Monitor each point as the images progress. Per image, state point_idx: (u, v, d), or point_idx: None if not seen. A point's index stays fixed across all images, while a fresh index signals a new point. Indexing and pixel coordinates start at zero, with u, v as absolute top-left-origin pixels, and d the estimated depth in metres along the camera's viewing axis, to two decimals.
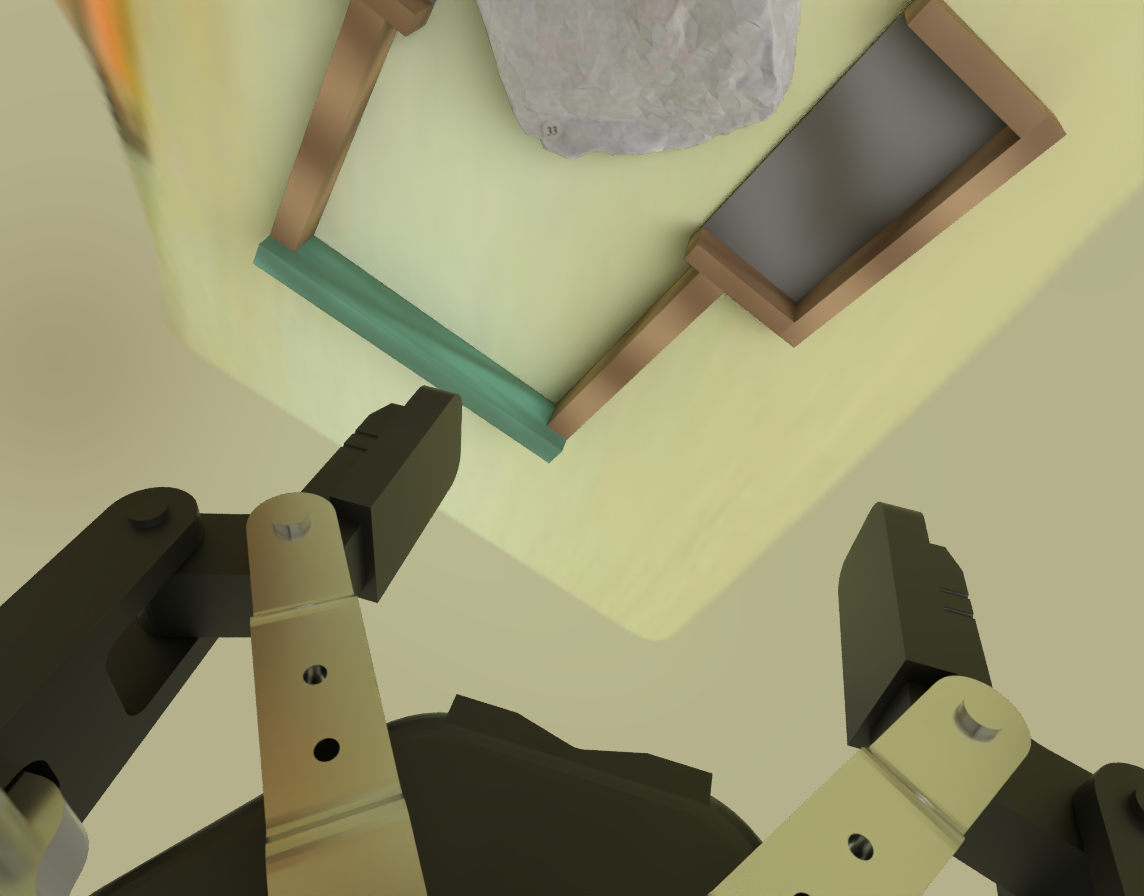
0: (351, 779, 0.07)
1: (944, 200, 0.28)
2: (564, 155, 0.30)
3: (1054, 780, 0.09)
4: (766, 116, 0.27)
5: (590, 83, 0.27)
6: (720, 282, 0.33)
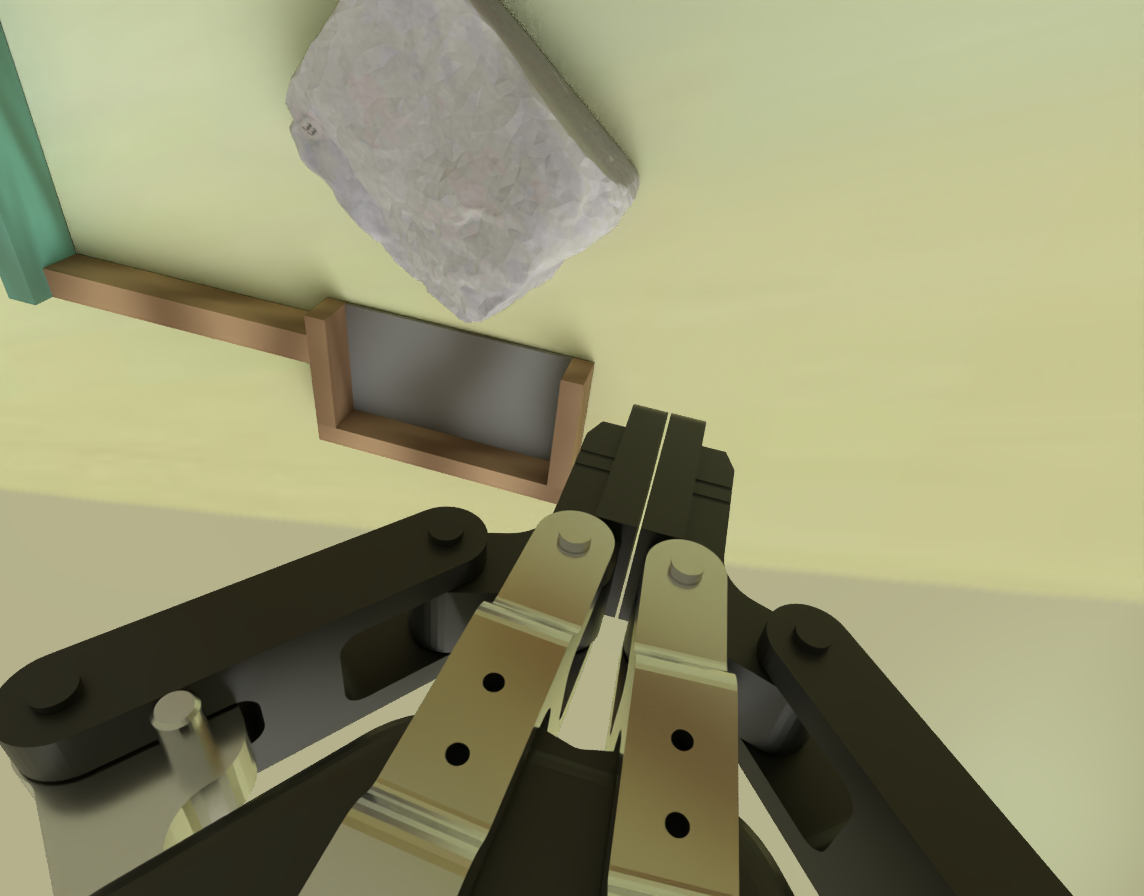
0: (455, 795, 0.07)
1: (485, 468, 0.34)
2: (300, 154, 0.27)
3: (750, 623, 0.10)
4: (461, 318, 0.29)
5: (373, 153, 0.25)
6: (313, 356, 0.33)
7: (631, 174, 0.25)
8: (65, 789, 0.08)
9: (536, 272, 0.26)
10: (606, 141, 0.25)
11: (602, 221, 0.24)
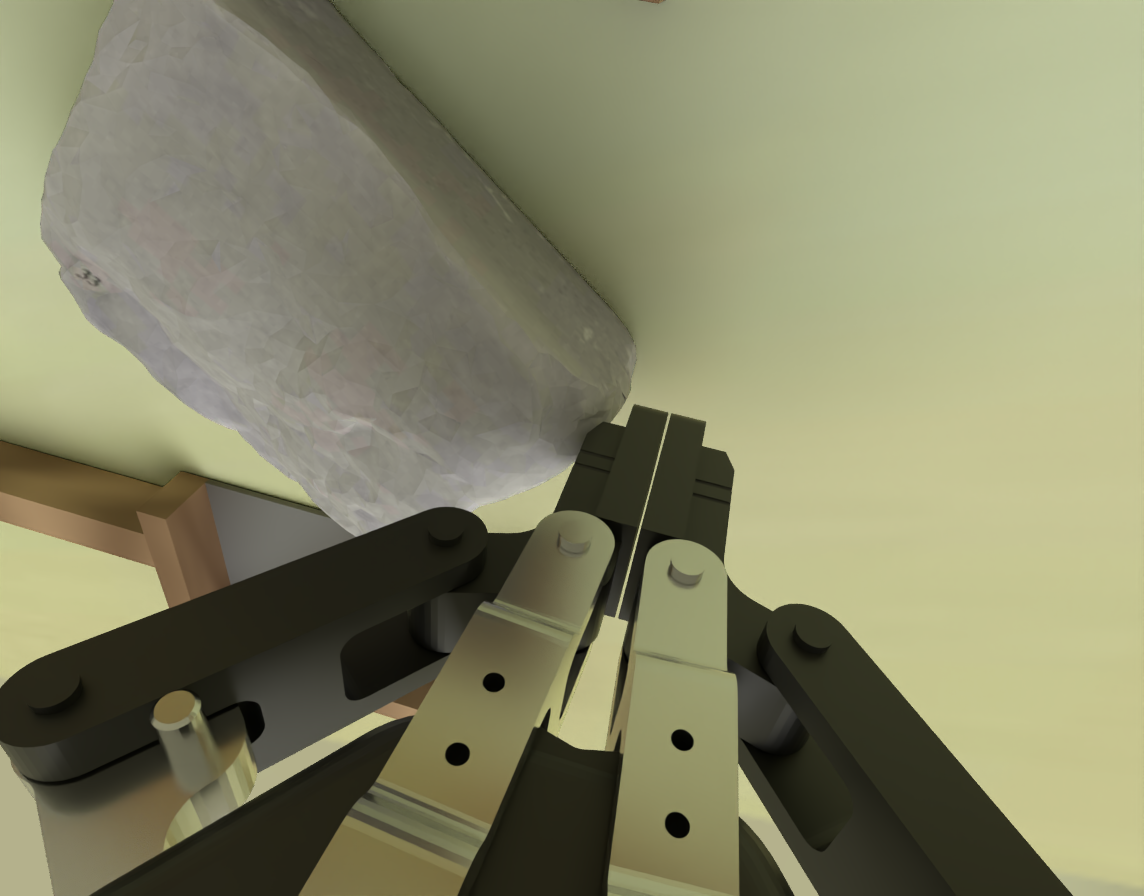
0: (455, 796, 0.07)
1: (414, 707, 0.24)
2: (84, 313, 0.16)
3: (750, 623, 0.10)
4: None
5: (188, 323, 0.15)
6: (158, 559, 0.22)
7: (623, 348, 0.15)
8: (65, 789, 0.08)
9: None
10: (580, 298, 0.15)
11: (575, 445, 0.14)
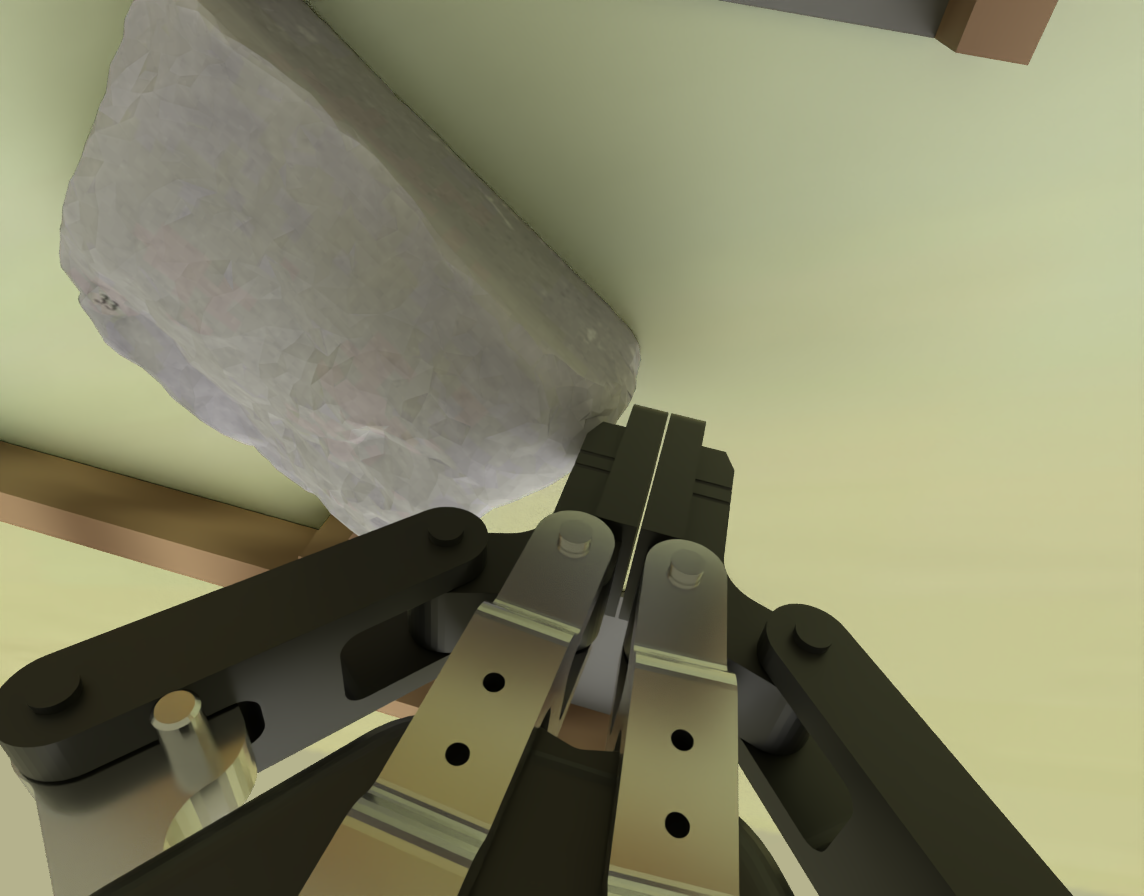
0: (455, 795, 0.07)
1: None
2: (103, 337, 0.17)
3: (750, 623, 0.10)
4: None
5: (203, 341, 0.15)
6: None
7: (627, 347, 0.15)
8: (65, 789, 0.08)
9: (481, 514, 0.16)
10: (582, 300, 0.15)
11: None
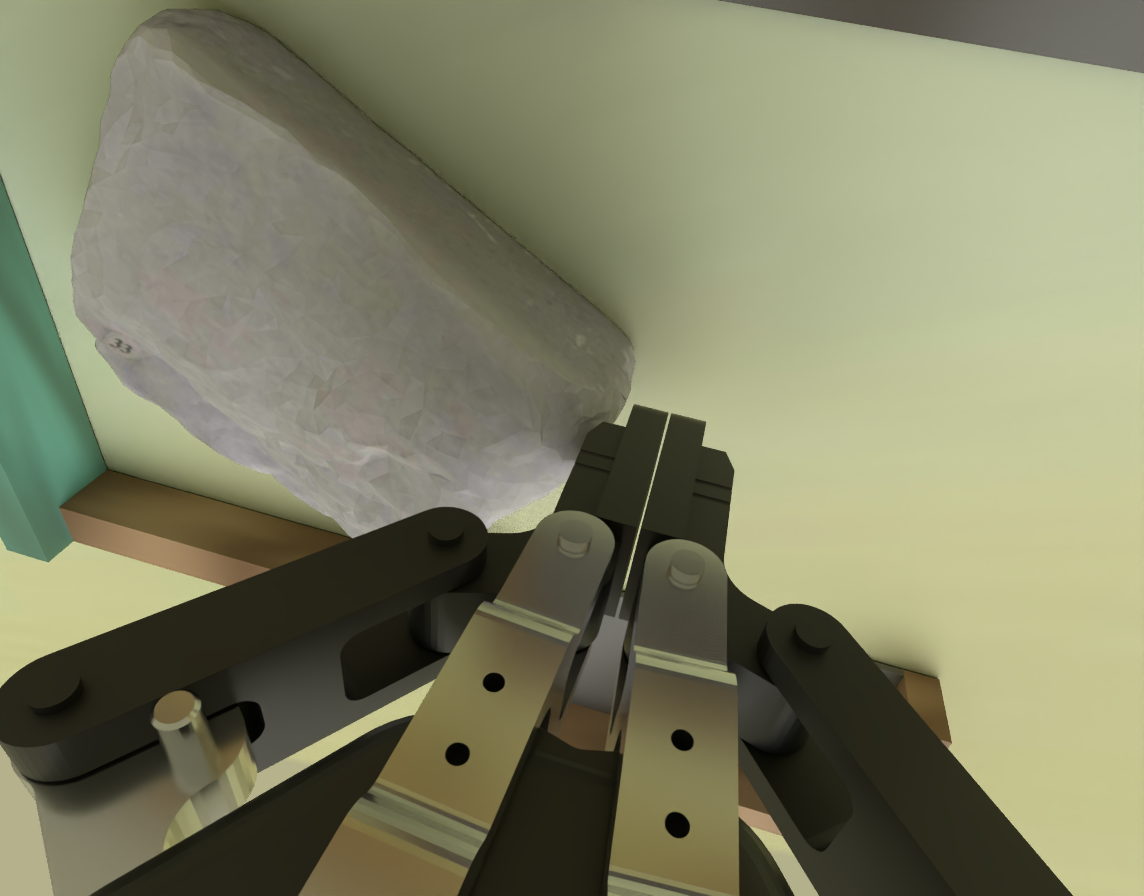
0: (455, 796, 0.07)
1: None
2: (121, 379, 0.18)
3: (750, 623, 0.10)
4: None
5: (210, 376, 0.16)
6: None
7: (619, 350, 0.15)
8: (65, 789, 0.08)
9: (487, 526, 0.16)
10: (570, 307, 0.15)
11: (578, 449, 0.14)
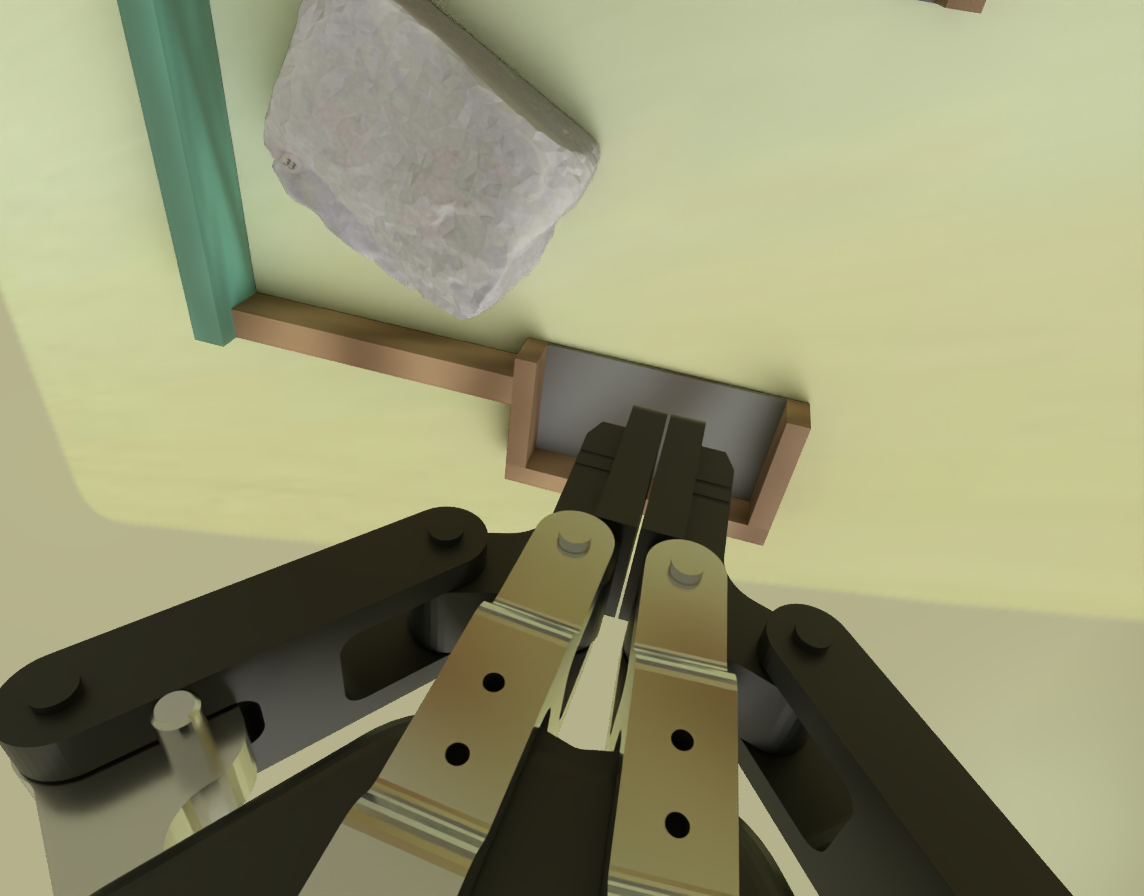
0: (456, 795, 0.07)
1: None
2: (286, 189, 0.29)
3: (750, 623, 0.10)
4: (457, 317, 0.30)
5: (347, 173, 0.27)
6: (516, 397, 0.32)
7: (590, 143, 0.26)
8: (65, 789, 0.08)
9: (514, 253, 0.27)
10: (559, 117, 0.26)
11: (566, 191, 0.25)
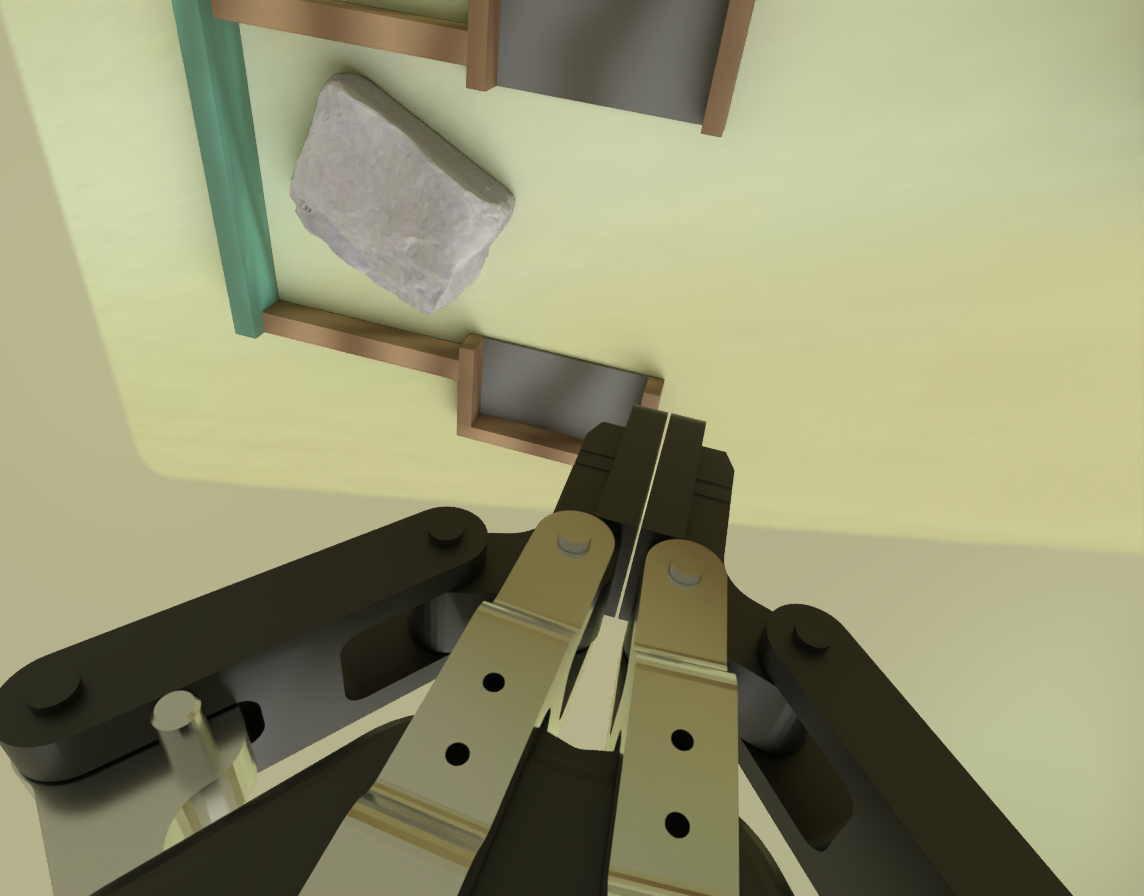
0: (455, 796, 0.07)
1: None
2: (304, 226, 0.42)
3: (750, 623, 0.10)
4: (423, 312, 0.43)
5: (345, 216, 0.40)
6: (462, 375, 0.46)
7: (505, 195, 0.39)
8: (65, 789, 0.08)
9: (456, 269, 0.40)
10: (485, 179, 0.39)
11: (487, 228, 0.38)
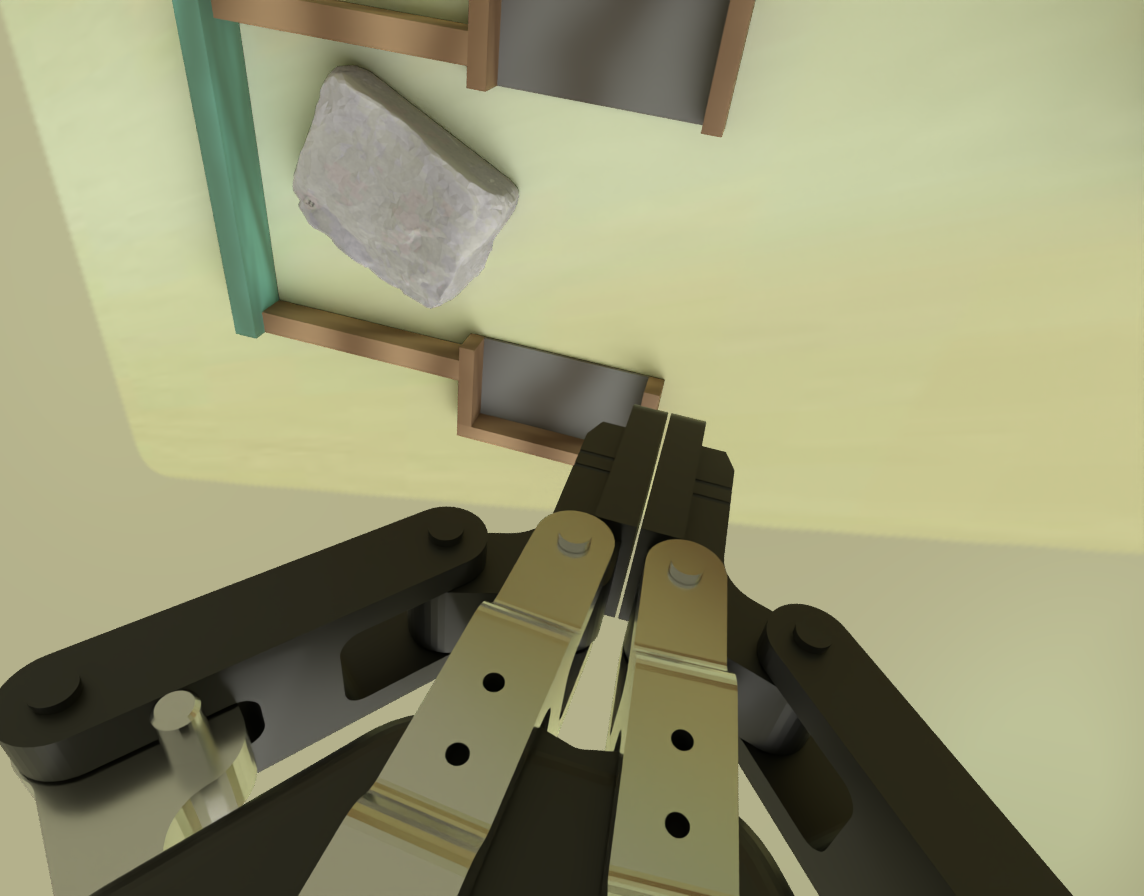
0: (455, 795, 0.07)
1: None
2: (308, 220, 0.42)
3: (750, 623, 0.10)
4: (427, 306, 0.43)
5: (349, 209, 0.40)
6: (462, 375, 0.46)
7: (510, 187, 0.39)
8: (65, 789, 0.08)
9: (461, 262, 0.39)
10: (489, 170, 0.39)
11: (492, 220, 0.38)
